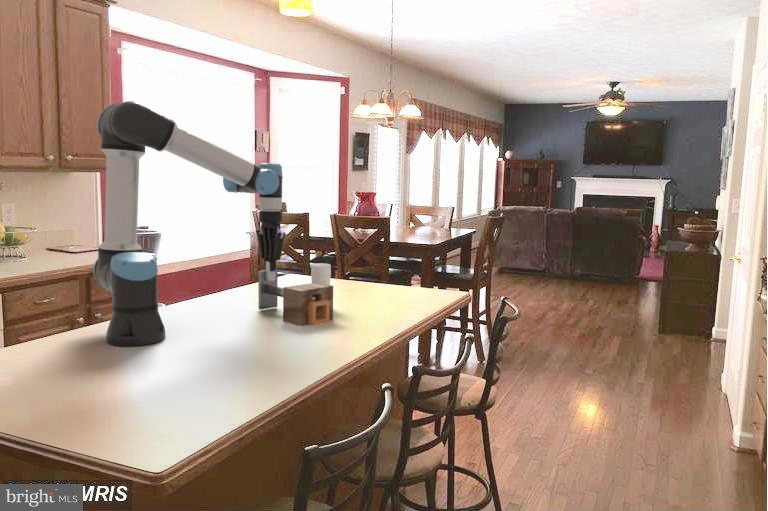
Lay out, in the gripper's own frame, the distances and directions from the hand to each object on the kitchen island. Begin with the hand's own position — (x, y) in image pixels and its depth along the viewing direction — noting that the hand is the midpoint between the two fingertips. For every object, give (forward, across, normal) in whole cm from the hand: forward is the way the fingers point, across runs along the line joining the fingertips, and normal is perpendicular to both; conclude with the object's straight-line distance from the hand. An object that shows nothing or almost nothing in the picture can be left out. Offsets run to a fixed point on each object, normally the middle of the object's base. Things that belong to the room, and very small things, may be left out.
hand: (270, 280), depth 215 cm
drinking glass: (+10, -7, -16) cm, 20 cm away
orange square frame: (+7, -24, 0) cm, 25 cm away
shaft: (+10, -10, 0) cm, 14 cm away
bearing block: (+10, -19, 0) cm, 22 cm away
